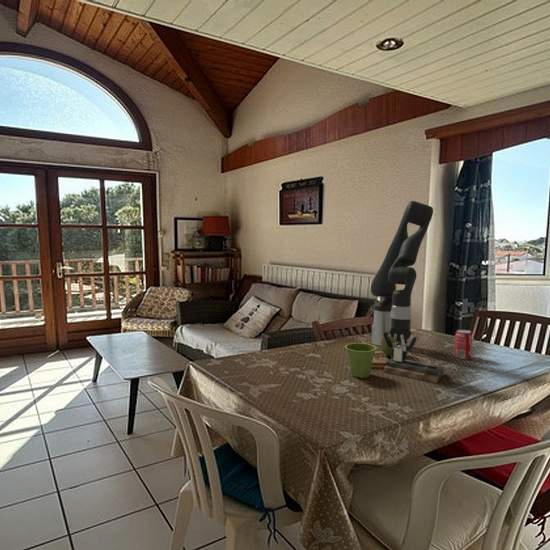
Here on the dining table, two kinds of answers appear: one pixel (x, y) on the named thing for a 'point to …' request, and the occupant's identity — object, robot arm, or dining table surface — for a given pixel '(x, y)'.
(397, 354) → the fader knob
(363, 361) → the plant pot
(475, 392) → the dining table surface
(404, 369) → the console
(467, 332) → the soda can
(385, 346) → the fruit
